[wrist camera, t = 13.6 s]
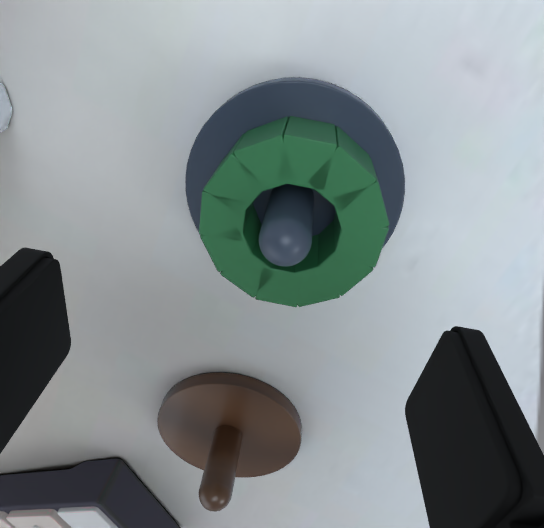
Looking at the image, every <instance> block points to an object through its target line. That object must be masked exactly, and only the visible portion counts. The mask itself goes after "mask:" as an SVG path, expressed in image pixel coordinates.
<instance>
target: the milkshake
mask: <svg viewBox="0 0 544 528" xmlns="http://www.w3.org/2000/svg"><path fill="white" fill-rule="evenodd" d="M12 112H13V109H12V106H11V103H10V101H9V97H8V94H7V91H6V88H5V87H4V86H3V85H2V84H1V83H0V133H1V132H3V131H5V130H6V129H7V128H8V125H9V121H10V118H11V115H12Z"/></svg>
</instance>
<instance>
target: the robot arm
mask: <svg viewBox="0 0 544 528" xmlns="http://www.w3.org/2000/svg"><path fill="white" fill-rule="evenodd" d="M70 346H71V337H70V330H69V323H68V316H67V310H66V303H65V296H64V289H63V282H62V275H61V269H60V263H59V261H58V260H56V259H54V258H53V255H52V254H51V253H50V252H46V251H41V250H35V249H30V248H22V249H20V250H19V251H18V252H16V253H15V254H14V255H13V256H12V257H11V258H10V259H8V260H7V261H6V262H5V263H4V264H3V265H2V266H0V453H1V452H2V450H3V449H4V448H5V446H6V445H7V443H8V442H9V440H10V439H11V437H12V436H13V434H14V433H15V431H16V430H17V428H18V427H19V425H20V424H21V423H22V421H23V420H24V418H25V417H26V415H27V414H28V412H29V411H30V409H31V408H32V406H33V405H34V403H35V402H36V400H37V399H38V397H39V396H40V395H41V393H42V392H43V390H44V389H45V387H46V386H47V384H48V383H49V381H50V380H51V378H52V377H53V375H54V374H55V372H56V371H57V369H58V368H59V367H60V365H61V364H62V362H63V361H64V359H65V358H66V356H67V354H68V352H69V350H70ZM405 415H406V420H407V425H408V429H409V434H410V438H411V443H412V448H413V452H414V457H415V461H416V466H417V470H418V475H419V480H420V484H421V489H422V493H423V498H424V503H425V507H426V512H427V516H428V521H429V526H430V528H544V455H543V453H542V451H541V449H540V447H539V445H538V443H537V441H536V439H535V437H534V435H533V433H532V431H531V429H530V427H529V425H528V423H527V421H526V419H525V417H524V415H523V413H522V411H521V409H520V407H519V405H518V403H517V401H516V399H515V397H514V395H513V393H512V391H511V389H510V387H509V385H508V383H507V380H506V378H505V376H504V374H503V372H502V370H501V368H500V366H499V364H498V362H497V360H496V358H495V356H494V354H493V352H492V350H491V348H490V346H489V344H488V342H487V340H486V338H485V336H484V335H483V333H482V332H481V331H479V330H474V329H469V328H463V327H458V326H456V327H453V328H452V329H451V330H450V331H445V332H444V333H443V334H442V336H441V338H440V340H439V342H438V344H437V345H436V347H435V349H434V351H433V353H432V355H431V357H430V358H429V360H428V362H427V364H426V366H425V368H424V370H423V372H422V373H421V375H420V377H419V379H418V381H417V383H416V385H415V387H414V388H413V390H412V392H411V394H410V396H409V398H408V400H407V402H406V407H405Z"/></svg>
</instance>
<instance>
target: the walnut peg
mask: <svg viewBox="0 0 544 528" xmlns="http://www.w3.org/2000/svg"><path fill="white" fill-rule="evenodd" d="M158 428H159V432H160V434H161V437H162V439H163V440H164V442H165V443H166V445H167V446H168V447H169V448H170V449H171V450H172V451H173V452H174V453H175V454H176V455H177V456H179V457H180V458H181V459H183V460H184V461H186V462H188V463H189V464H191V465H193V466H195V467H197V468H200V469H202V470H204V473H203V477H202V481H201V485H200V489H199V499H200V502H201V504H202V505H203V506H204V508H206V509H207V510H209V511H220V510H222V509H223V508H225V507H226V506H227V505H228V503H229V502H230V499H231V496H232V491H233V486H234V481H235V477H256V476H262V475H266V474H270V473H273V472H275V471H278V470H280V469H281V468H283V467H285V466H286V465H288V464H289V463H290V462H291V461H292V460H293V459H294V457H295V456H296V455H297V453H298V451H299V448H300V444H301V428H302V425H301V420H300V417H299V415H298V412H297V410H296V409H295V407H294V406H293V404H292V403H291V402H290V401H289V400H288V399H287V398H286V397H285V396H284V395H283V394H282V393H280V392H279V391H278V390H276V389H275V388H273V387H271V386H270V385H268V384H266V383H264V382H262V381H259V380H257V379H254V378H251V377H248V376H244V375H240V374H233V373H221V372H218V373H205V374H199V375H196V376H192V377H189V378H187V379H185V380H183V381H181V382H179V383H178V384H176V385H175V386H174V387H173V388H172V389H171V390H170V391H169V392H168V393H167V395H166V396H165V398H164V400H163V403H162V405H161V408H160V411H159V413H158Z"/></svg>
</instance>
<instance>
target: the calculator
mask: <svg viewBox="0 0 544 528" xmlns="http://www.w3.org/2000/svg"><path fill="white" fill-rule="evenodd" d="M0 528H180V527H179V526H178V525H177V523H176V522H175V521H174V520H173V519H172V518H171V516H170V515H169V514H168V513H167V512H166V511H165V509H164V508H163V507H162V506H161V505H160V504H159V502H158V501H157V500H156V499H155V498H154V497H153V495H152V494H151V493H150V492H149V491H148V490H147V489H146V487H145V486H144V485H143V484H142V483H141V482H140V480H139V479H138V478H137V477H136V476H135V475H134V473H133V472H132V471H131V470H130V469H129V468H128V466H127V465H126V464H125V463H124V462H123V461H122V460H121V459H106V460H95V461H85V462H82V463H81V464H79V465H77V466H76V467H74V468H72V469H67V470H56V471H44V472H32V473H21V474H9V475H0Z"/></svg>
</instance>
